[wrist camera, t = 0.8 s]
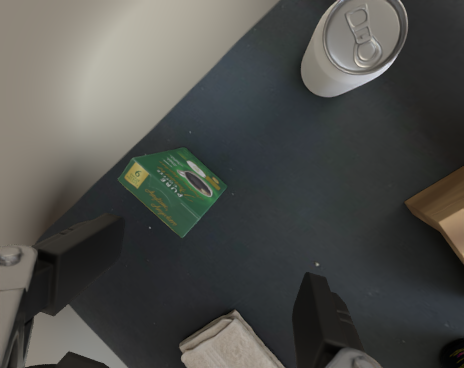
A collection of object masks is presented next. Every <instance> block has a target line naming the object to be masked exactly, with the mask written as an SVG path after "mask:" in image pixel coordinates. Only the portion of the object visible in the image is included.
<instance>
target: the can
mask: <svg viewBox="0 0 464 368" xmlns="http://www.w3.org/2000/svg"><path fill="white" fill-rule="evenodd" d="M407 31H408V18H407V14H406V10H405V8H404V6H403V4H402V3H401V1H400V0H338V1H336V2H335V3H334V4H333V5H331V6H330V7H329V8H328V10H327V11H326V12H325V13H324V15H323V16H322V18H321V19H320V21H319V23H318V25H317V27H316V29H315V31H314V33H313V36H312V38H311V40H310V42H309V45H308V47H307V49H306V52H305V54H304V57H303V60H302V63H301V76H302V79H303V82H304V84H305V86H306V87H307V88H308V89H309V90H310V91H311V92H312V93H314V94H316V95H318V96H322V97H334V96H338V95H340V94H343V93H345V92H347V91H349V90H352V89H354V88H356V87H358V86H360V85H363V84H365V83H367V82H369V81H371V80H373V79H375V78H376V77H378V76H379V75H381V74H382V73H383V72H384V71H386V70H387V69H388V68H389V67H390V65H391V64H392V63H393V62H394V60H395V59H396V57H397V55H398V53H399V52H400V50H401V49H402V47H403V45H404V42H405V39H406V36H407Z"/></svg>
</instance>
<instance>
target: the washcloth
mask: <svg viewBox="0 0 464 368" xmlns="http://www.w3.org/2000/svg"><path fill="white" fill-rule="evenodd" d="M179 347H180V349H181V351H182V353H183V355H182V356H181V360H182V362H183V363H184V364H185V366H186V367H187V368H285V367H284V366H283V365H282V364H281V362H280V361H279V360H277V358H276V356H274V355H273V354H272V352H271V351H270V350H269V349H268V348H267V347H266V346H265V345H264V344H263V342H262V341H261V339H259V338H258V336H257V335H256V334H255V333H254V331H253V330H252V328H251V327H250V326H249V325H248V324H247V322H245V321H244V319H243V318H242V317H241V316H240V313H239V312H237V311H236V310H233V311H232V312H230V313H229V314H227V315H224V316H221V317H219V318H217V319H216V320H214V321H212V322H211V323H209V324H208V325H206V326H205V327H204V328H202V329H201V330H199V331H197V332H195V333H194V334H192V335H191V336H189V337H188V338H186V339H185V340H183V341H182V342H181V343H180V346H179Z"/></svg>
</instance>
